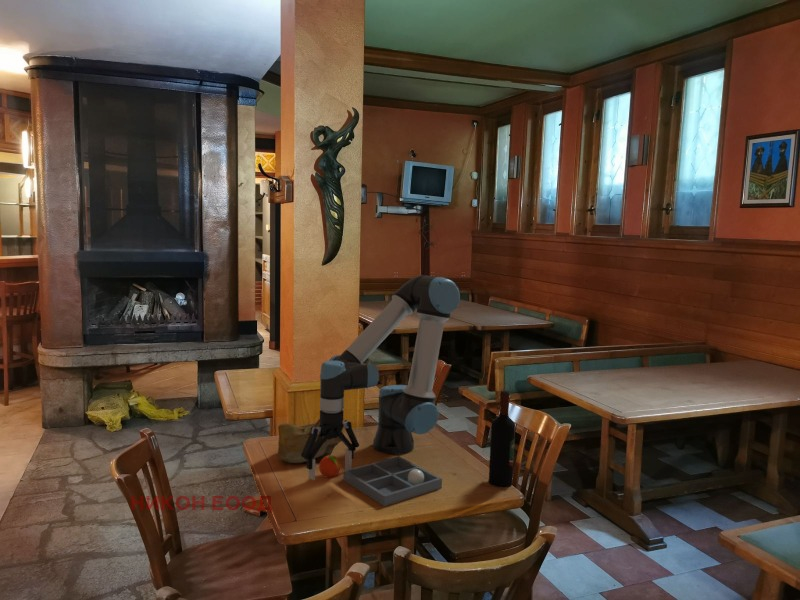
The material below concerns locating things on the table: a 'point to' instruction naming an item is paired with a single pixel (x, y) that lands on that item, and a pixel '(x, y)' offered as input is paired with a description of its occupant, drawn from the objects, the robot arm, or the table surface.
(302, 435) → the rough brown rock
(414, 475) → the cream egg
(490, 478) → the wine bottle
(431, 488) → the divided tray
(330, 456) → the clementine
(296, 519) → the table surface
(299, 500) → the table surface
